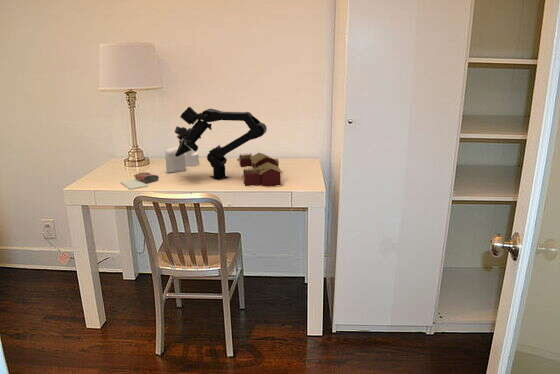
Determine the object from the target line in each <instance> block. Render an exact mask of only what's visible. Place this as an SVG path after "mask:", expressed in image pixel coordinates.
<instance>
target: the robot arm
mask: <svg viewBox="0 0 560 374" xmlns="http://www.w3.org/2000/svg"><path fill="white" fill-rule="evenodd" d="M179 117H180V118H181V119H182V120H183V121H184V122H185V123H186V124H188V125H189V126H190V125H192V127H190V128H188V129H187V127H184V126H182V127H180V126H176V127H175V130H174V133H175V134H176V135H177V136H176V138H177V139H178V143H179V145H178V146H177V147H178V150H177V152H176V154H175V156H176V157H178V156H180V155H182V154H184V153H186V152H188V151H191V148H192V149H193V150H194V152H197V151H198V150H199V145H198V144H196V142H197V141H198V140H199V139H201V138H202V135H203V134H204V133H205V132H206V131H207V129H209V130H210V131H212V122H218V121H231V122H232V121H234V122H235V121H236V122H237V121H238V122H240V121H241V122H244V123H245V124H246V125H247V127H248V128H249V130H248V131H247V132H246V133H244V134H243V135H241V136H239V137H237V138H236V139H234V140H232V141H230V142H229V143H227V144H226V145H224V146H221V145H220V144H218V145H217V146H216V147H213V148H212V149H210V150H209V151H208V152H209V153H207V156H206V159H207V161H208V163H209V164H210V166H211V168H212V171H213V172H212V174H213V175H210V178H212V179H214V180H215V181H216V180H223V179H228V178H229V176H228V175H226V165H225V164H226V163H227V161H228V159H227V158H226V157H225V156H226V155H227V154H228V153H230V152H232V151H234V150H236V149H237V148H239V147H241V146H242V145H245V143H247V142H249V141H251V140H252V141H253V140H256V139H257V138H261V137H263V135H264V134H266V133H267V130H268V127H267V125H266V124H265V123H264V122H262V121H260V120H259V119H258V118H257V117H255V116H254V115H253V114H252V113H251V112H249V111H223V110H218V109H214V108H207V109H205V110H203V111H202V112H199V113H198V112H196V111H195V110H194V109H193V108H192V107H191V106H188V107H187V108H186V109H185V110H184V111H183V112H182V113H181V115H180V116H179Z"/></svg>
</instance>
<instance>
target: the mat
mask: <svg viewBox="0 0 560 374" xmlns="http://www.w3.org/2000/svg"><path fill="white" fill-rule="evenodd" d="M119 183H120V184H121V183H122V184H121V185H122V186H124V187H125V188H126V189H128V190H130V191H131V190H136V189H142V188H146V187H149V184H146V182H144V181H142V180H138V179H136V178H133V179H129V180H127V179H126V180H123V181H122V180H121V181H119Z"/></svg>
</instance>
